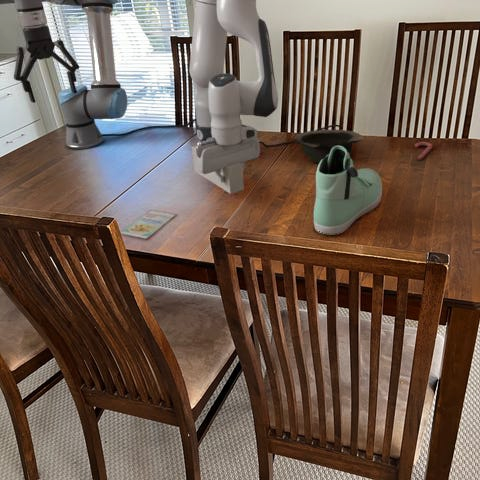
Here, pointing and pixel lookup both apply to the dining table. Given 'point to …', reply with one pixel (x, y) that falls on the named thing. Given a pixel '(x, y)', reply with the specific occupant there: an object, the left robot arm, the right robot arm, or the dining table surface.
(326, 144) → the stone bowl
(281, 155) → the dining table surface
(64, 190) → the dining table surface
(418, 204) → the dining table surface
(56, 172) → the dining table surface
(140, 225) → the baking ingredient package
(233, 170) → the bar
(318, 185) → the sneaker
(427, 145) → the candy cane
